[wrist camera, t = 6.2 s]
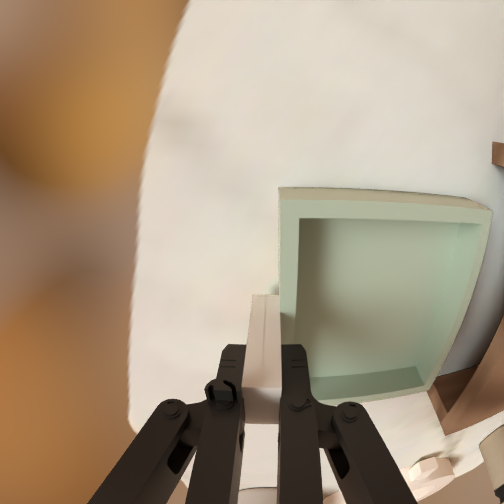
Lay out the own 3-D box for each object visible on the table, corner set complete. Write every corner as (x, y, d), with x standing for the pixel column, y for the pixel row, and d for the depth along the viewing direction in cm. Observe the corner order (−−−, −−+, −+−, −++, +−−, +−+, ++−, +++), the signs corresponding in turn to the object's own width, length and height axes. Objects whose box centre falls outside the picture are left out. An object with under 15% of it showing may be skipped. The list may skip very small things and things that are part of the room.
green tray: (278, 187, 14) (280, 199, 11) (464, 197, 13) (493, 210, 10) (276, 377, 20) (276, 407, 17) (416, 364, 19) (429, 390, 16)
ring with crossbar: (361, 507, 43) (362, 521, 38) (294, 500, 36) (294, 519, 32) (459, 462, 33) (463, 477, 29) (430, 448, 27) (436, 471, 23)
